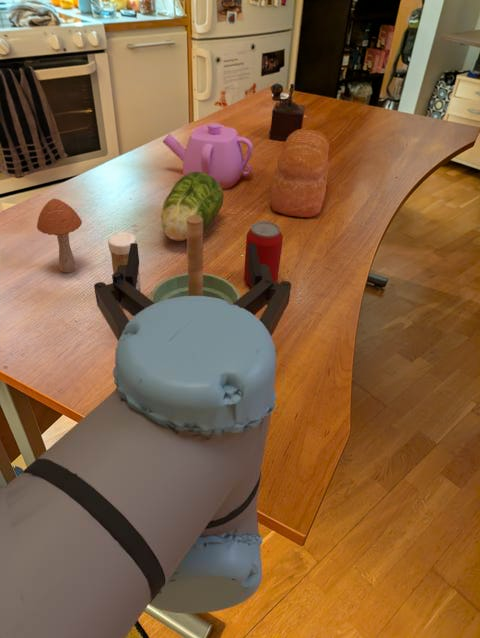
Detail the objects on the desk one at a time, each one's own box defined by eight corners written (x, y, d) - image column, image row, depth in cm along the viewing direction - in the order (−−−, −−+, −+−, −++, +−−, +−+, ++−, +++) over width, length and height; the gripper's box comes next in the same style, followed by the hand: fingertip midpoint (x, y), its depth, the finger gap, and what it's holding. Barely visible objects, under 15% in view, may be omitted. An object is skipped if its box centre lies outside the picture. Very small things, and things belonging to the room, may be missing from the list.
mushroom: (79, 253, 96) (65, 185, 87) (97, 271, 92) (84, 201, 82) (42, 265, 92) (23, 196, 83) (58, 284, 88) (40, 213, 78)
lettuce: (148, 249, 99) (144, 200, 92) (181, 207, 114) (180, 163, 107) (199, 258, 97) (199, 210, 90) (226, 215, 113) (227, 170, 105)
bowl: (149, 357, 74) (146, 329, 71) (154, 299, 86) (152, 272, 82) (242, 355, 76) (244, 327, 72) (235, 298, 87) (236, 272, 84)
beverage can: (282, 279, 93) (290, 226, 85) (267, 295, 89) (273, 241, 81) (253, 268, 96) (258, 216, 88) (237, 284, 91) (240, 230, 83)
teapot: (259, 184, 127) (263, 130, 118) (191, 197, 119) (190, 141, 109) (226, 159, 140) (227, 109, 130) (162, 170, 131) (158, 118, 122)
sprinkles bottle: (122, 312, 83) (113, 247, 74) (114, 298, 86) (103, 234, 77) (146, 304, 85) (140, 241, 76) (137, 291, 88) (129, 228, 79)
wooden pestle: (183, 330, 79) (179, 226, 66) (183, 314, 82) (179, 211, 69) (209, 330, 79) (210, 226, 66) (208, 313, 82) (209, 212, 69)
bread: (266, 214, 114) (272, 153, 104) (280, 173, 134) (286, 119, 124) (320, 222, 112) (331, 161, 102) (327, 179, 132) (337, 125, 122)
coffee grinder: (271, 129, 163) (276, 73, 151) (302, 132, 162) (309, 76, 150) (264, 144, 151) (269, 84, 140) (298, 148, 150) (306, 88, 138)
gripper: (50, 426, 39) (89, 280, 55) (334, 415, 42) (293, 279, 58) (28, 365, 34) (79, 224, 50) (352, 357, 37) (302, 225, 53)
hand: (194, 253), depth 54 cm, fingers open, 13 cm apart
